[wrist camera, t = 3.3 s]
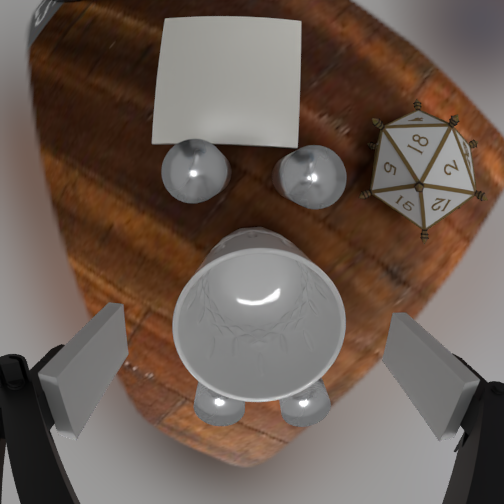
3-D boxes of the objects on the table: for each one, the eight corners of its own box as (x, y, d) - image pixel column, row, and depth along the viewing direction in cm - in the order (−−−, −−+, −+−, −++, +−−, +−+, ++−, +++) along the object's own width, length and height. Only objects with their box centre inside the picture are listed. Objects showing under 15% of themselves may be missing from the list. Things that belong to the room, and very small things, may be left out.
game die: (371, 146, 26) (412, 53, 16) (451, 201, 24) (515, 124, 15) (321, 215, 22) (365, 106, 13) (418, 283, 21) (509, 210, 11)
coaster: (167, 22, 19) (164, 18, 19) (299, 25, 20) (301, 21, 19) (154, 144, 22) (151, 143, 21) (295, 148, 22) (297, 148, 21)
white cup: (206, 323, 25) (186, 404, 15) (194, 222, 23) (160, 254, 13) (307, 316, 25) (340, 393, 15) (305, 214, 23) (348, 242, 13)
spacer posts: (187, 149, 22) (162, 138, 15) (331, 157, 22) (366, 151, 15) (187, 367, 26) (172, 422, 19) (308, 371, 26) (326, 425, 19)
